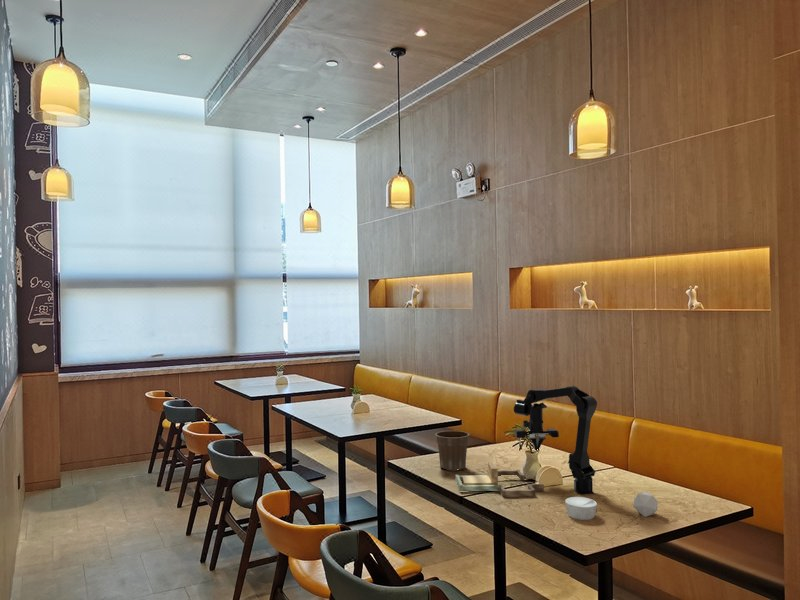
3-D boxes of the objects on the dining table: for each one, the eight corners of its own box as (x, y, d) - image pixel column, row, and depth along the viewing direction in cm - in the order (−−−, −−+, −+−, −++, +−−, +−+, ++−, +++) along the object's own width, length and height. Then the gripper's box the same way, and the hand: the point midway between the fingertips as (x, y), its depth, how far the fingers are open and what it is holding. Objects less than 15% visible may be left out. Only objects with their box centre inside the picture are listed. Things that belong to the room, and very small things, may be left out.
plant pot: (435, 463, 295) (435, 430, 295) (468, 462, 294) (468, 430, 294) (436, 472, 278) (435, 437, 278) (471, 472, 278) (470, 437, 278)
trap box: (531, 475, 272) (531, 468, 272) (548, 496, 242) (548, 488, 242) (453, 476, 271) (453, 470, 271) (462, 498, 242) (462, 490, 242)
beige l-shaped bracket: (494, 482, 262) (494, 462, 262) (497, 489, 252) (497, 468, 252) (462, 483, 262) (462, 462, 262) (464, 490, 252) (464, 468, 252)
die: (643, 510, 227) (628, 490, 226) (664, 503, 222) (648, 483, 222) (642, 525, 220) (626, 504, 220) (663, 518, 215) (647, 497, 215)
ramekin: (599, 522, 214) (598, 507, 214) (566, 520, 216) (566, 505, 216) (595, 511, 225) (595, 497, 225) (564, 509, 227) (564, 496, 227)
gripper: (551, 413, 273) (552, 447, 273) (511, 414, 273) (511, 448, 273) (559, 418, 262) (559, 454, 262) (516, 419, 262) (517, 454, 262)
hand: (536, 452), depth 265 cm, fingers closed
